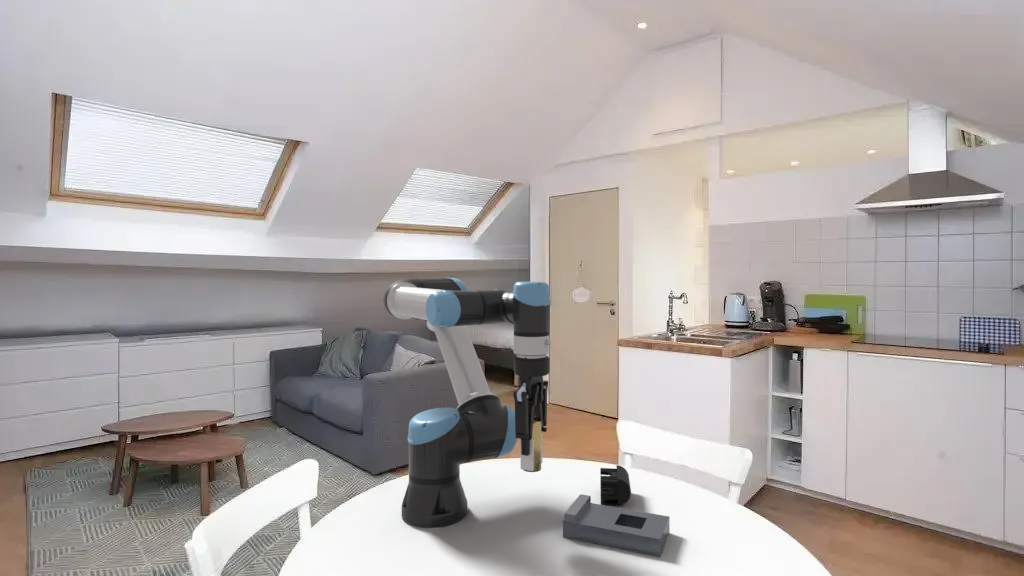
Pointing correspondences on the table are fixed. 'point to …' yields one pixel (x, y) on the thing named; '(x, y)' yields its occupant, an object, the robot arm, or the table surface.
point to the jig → (616, 527)
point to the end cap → (614, 486)
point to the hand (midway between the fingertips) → (531, 465)
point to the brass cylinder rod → (536, 445)
